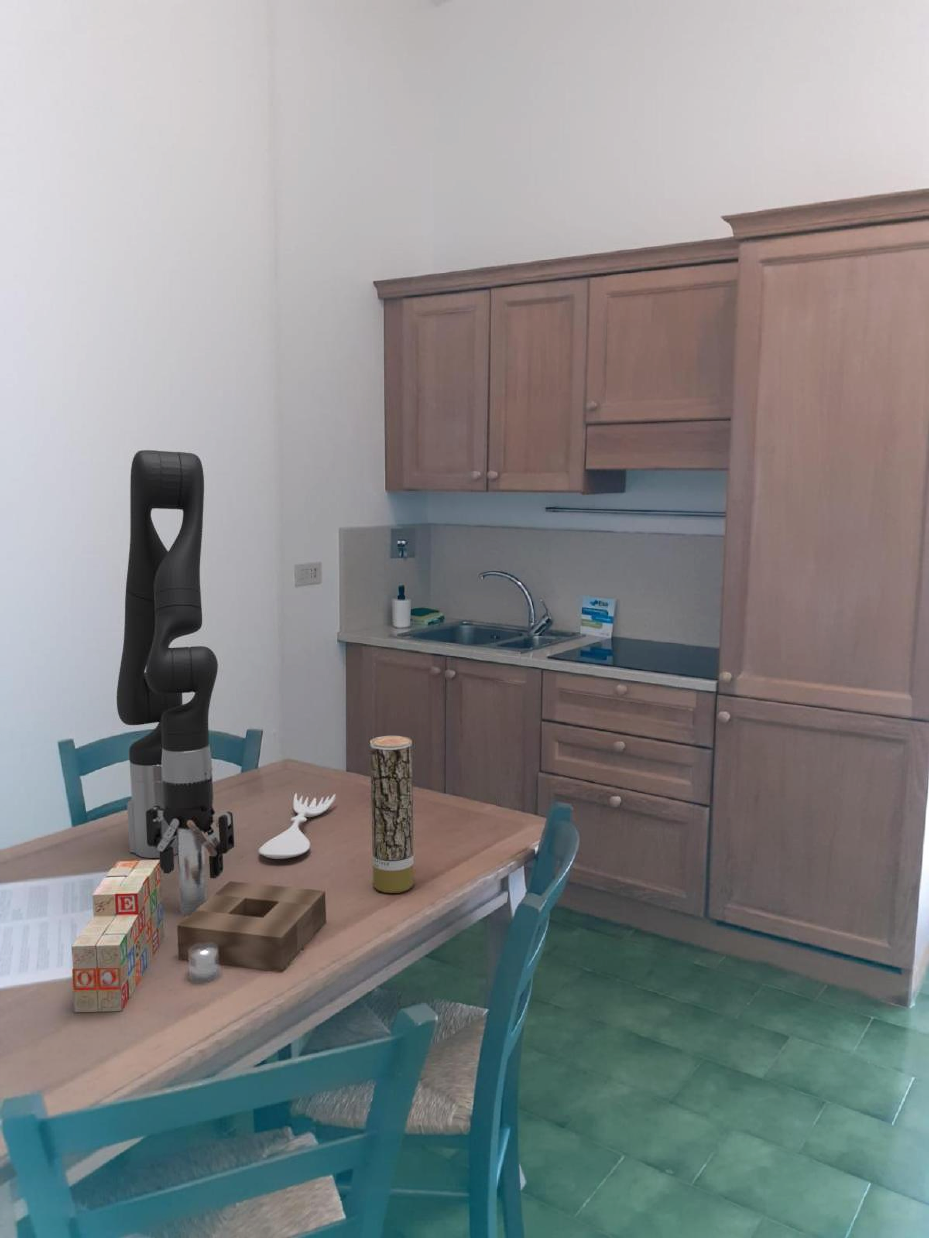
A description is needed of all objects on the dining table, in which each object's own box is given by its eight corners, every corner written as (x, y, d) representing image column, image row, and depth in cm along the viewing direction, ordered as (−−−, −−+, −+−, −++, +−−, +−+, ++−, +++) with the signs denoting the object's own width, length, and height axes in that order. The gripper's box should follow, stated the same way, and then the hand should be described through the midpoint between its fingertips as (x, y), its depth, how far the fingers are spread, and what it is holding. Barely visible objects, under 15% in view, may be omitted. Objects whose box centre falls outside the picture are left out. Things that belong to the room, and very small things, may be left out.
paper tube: (398, 898, 162) (395, 748, 159) (364, 889, 166) (361, 743, 162) (421, 883, 168) (419, 739, 164) (389, 875, 172) (386, 733, 168)
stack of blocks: (123, 1012, 129) (117, 922, 127) (73, 1014, 128) (67, 923, 127) (164, 936, 150) (160, 858, 148) (122, 937, 150) (117, 859, 148)
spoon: (337, 807, 207) (337, 791, 207) (302, 868, 176) (302, 849, 175) (294, 807, 208) (294, 791, 207) (252, 867, 176) (251, 848, 176)
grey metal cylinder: (184, 981, 136) (182, 953, 136) (198, 967, 140) (197, 940, 140) (210, 984, 135) (209, 956, 135) (224, 970, 139) (223, 943, 139)
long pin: (175, 914, 157) (171, 828, 155) (188, 903, 161) (184, 820, 159) (198, 916, 156) (194, 830, 154) (211, 906, 160) (207, 822, 158)
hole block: (178, 958, 143) (177, 925, 142) (231, 911, 158) (230, 881, 157) (282, 971, 139) (281, 937, 138) (326, 921, 154) (325, 890, 153)
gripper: (132, 778, 153) (138, 879, 156) (217, 784, 150) (222, 888, 152) (159, 764, 160) (164, 861, 163) (240, 770, 157) (244, 869, 159)
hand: (192, 874), depth 158 cm, fingers open, 7 cm apart
